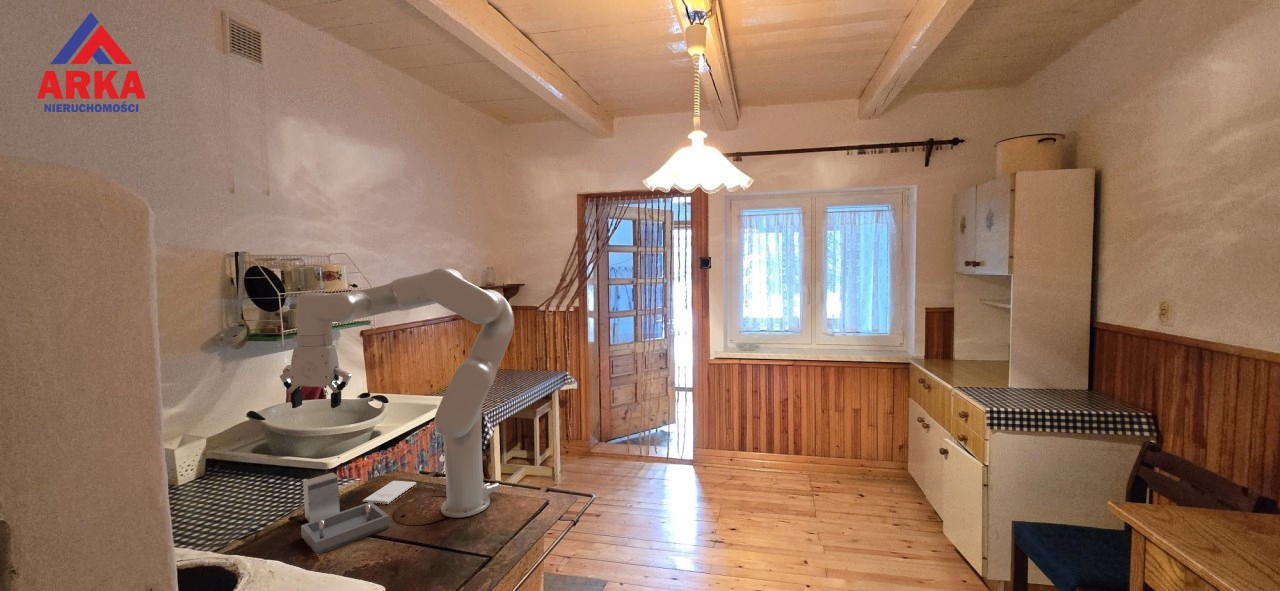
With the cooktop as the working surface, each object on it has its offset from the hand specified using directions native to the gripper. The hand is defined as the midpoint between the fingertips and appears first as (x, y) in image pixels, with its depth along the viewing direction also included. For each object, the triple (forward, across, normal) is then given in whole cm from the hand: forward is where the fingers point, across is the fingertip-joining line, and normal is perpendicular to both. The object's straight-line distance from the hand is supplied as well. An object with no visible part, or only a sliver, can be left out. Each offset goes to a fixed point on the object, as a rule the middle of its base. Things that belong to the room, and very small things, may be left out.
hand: (316, 406), depth 129 cm
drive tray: (+30, +11, -7) cm, 32 cm away
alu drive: (+30, -1, +3) cm, 30 cm away
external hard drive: (+30, +12, +14) cm, 36 cm away
